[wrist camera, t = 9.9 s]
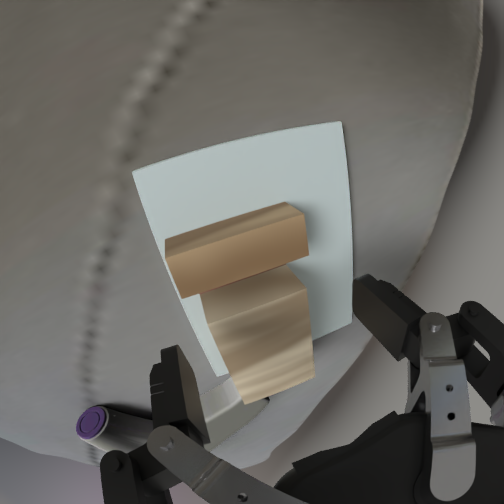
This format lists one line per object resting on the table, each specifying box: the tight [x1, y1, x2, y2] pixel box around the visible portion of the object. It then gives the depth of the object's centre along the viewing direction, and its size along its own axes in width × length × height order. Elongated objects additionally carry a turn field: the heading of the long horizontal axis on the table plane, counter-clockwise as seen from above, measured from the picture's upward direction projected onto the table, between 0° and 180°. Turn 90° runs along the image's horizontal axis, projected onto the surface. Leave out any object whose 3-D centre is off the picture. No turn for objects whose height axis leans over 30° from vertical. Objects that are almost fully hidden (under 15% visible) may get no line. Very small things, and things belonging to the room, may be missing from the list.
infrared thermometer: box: [76, 377, 270, 453], centre depth 20 cm, size 5×12×15 cm
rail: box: [165, 202, 309, 299], centre depth 14 cm, size 2×7×2 cm, turn 102°
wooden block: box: [199, 264, 315, 405], centre depth 17 cm, size 3×6×8 cm
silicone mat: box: [132, 121, 353, 377], centre depth 17 cm, size 16×12×1 cm
